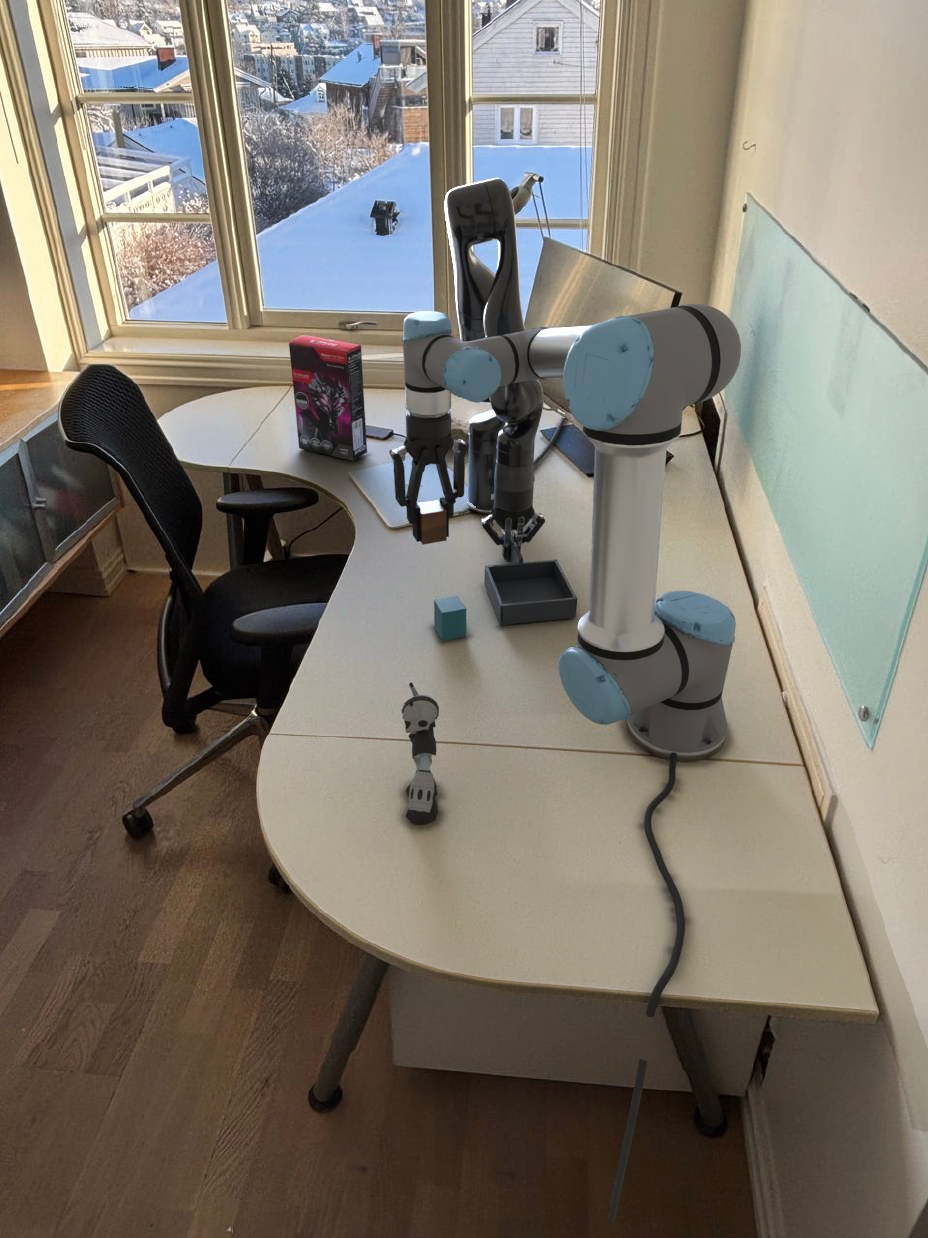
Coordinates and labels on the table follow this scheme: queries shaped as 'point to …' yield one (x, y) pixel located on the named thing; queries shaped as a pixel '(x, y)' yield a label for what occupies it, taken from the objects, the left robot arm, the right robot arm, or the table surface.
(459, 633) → the teal block
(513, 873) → the table surface
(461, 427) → the stone
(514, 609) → the tray
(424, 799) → the robot
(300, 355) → the graphics card box
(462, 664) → the table surface
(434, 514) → the walnut block
